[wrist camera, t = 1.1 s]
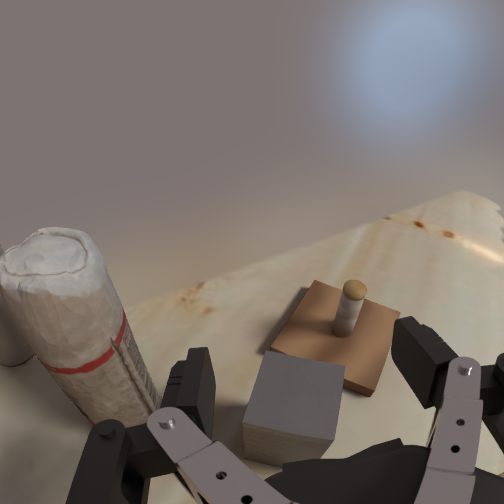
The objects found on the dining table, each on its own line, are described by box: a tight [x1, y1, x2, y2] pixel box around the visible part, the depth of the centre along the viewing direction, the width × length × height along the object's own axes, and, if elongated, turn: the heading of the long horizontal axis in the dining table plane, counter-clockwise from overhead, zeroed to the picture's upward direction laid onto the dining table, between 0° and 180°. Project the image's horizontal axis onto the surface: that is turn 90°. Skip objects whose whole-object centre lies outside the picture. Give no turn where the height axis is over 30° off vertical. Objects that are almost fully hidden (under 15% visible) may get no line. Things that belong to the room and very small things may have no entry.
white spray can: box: [0, 227, 161, 428], centre depth 22 cm, size 8×8×20 cm
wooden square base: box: [270, 280, 400, 397], centre depth 33 cm, size 12×12×8 cm
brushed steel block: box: [242, 350, 345, 467], centre depth 23 cm, size 6×6×10 cm
